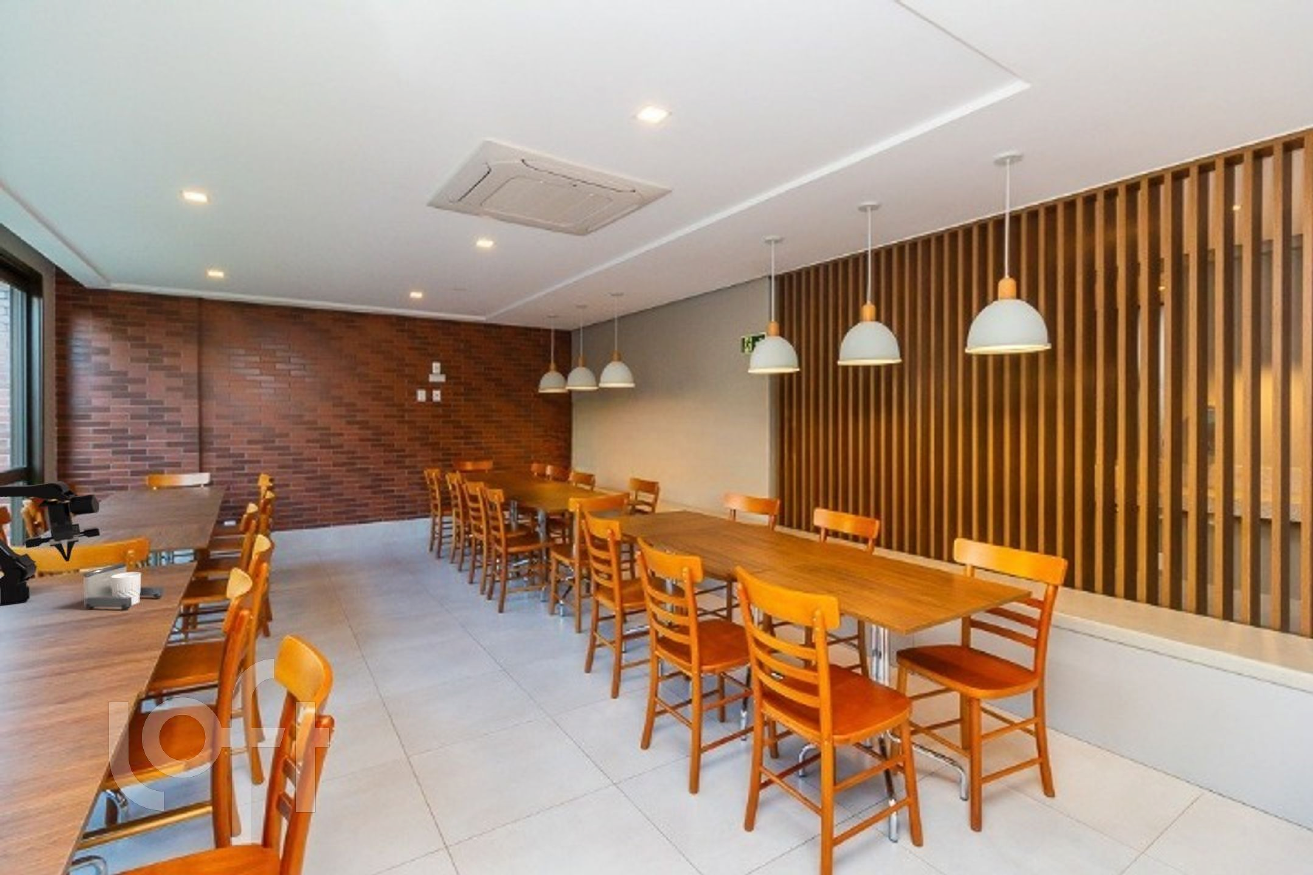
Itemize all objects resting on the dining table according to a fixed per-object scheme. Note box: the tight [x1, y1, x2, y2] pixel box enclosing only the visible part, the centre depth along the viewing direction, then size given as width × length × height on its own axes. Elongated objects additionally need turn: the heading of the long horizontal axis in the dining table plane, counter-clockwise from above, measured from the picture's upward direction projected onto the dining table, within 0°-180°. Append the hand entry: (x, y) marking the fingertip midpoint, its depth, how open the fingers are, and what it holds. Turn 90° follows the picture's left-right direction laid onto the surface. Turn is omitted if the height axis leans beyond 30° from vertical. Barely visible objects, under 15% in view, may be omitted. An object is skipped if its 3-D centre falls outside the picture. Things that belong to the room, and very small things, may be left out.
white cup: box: [111, 571, 142, 606], centre depth 211 cm, size 8×8×10 cm
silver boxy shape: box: [83, 562, 164, 611], centre depth 211 cm, size 15×15×12 cm
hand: (67, 561), depth 218 cm, fingers closed
